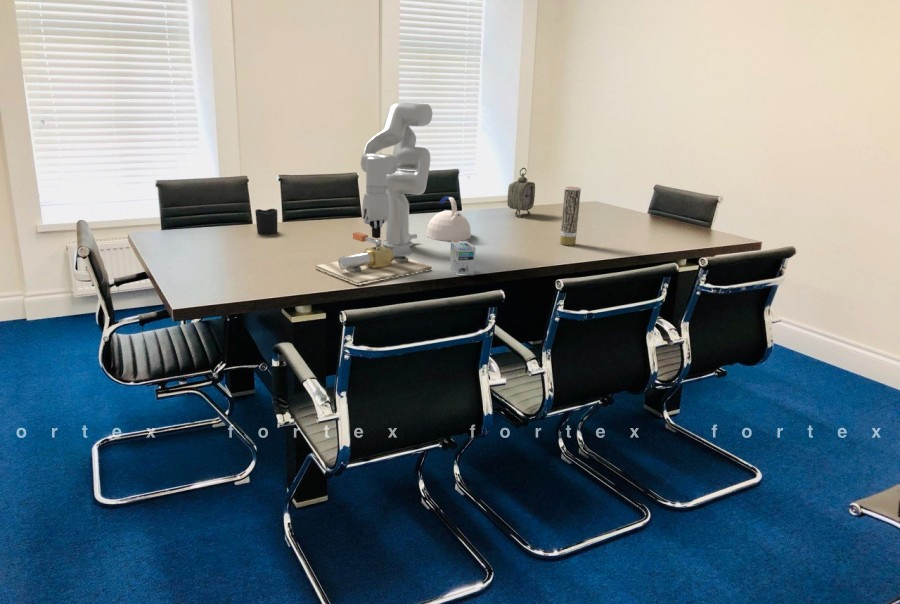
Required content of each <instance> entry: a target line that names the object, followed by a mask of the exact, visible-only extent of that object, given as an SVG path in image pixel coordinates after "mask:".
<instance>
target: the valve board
mask: <svg viewBox="0 0 900 604" xmlns="http://www.w3.org/2000/svg"><path fill="white" fill-rule="evenodd" d="M338 261H339V260H338ZM338 261H333V262H328V263H321V264H317V265H316V264H315V268H316V267H317V268H319V269H322V270H324V271H327V272H329V273H332V274H334V275H337V276H339V277H341V278H344V279H347V280H349V281H352V282H354V283H357V284H359V283H363V282H368V281H374V280H380V279H387V278H392V277H396V276H402V275H406V274H411V273H416V272H421V271H426V270H431V269H432V270H433V266H431V265H429V264H426V263H422V262H420V261H416V260H414V259H411V258H408V263H403V264H402V263H399V262H396V261H394V260H393V261H392V262H391V265H388V266H383V267H378V268H374V267H371V266H370V267H366V266H360V267H361V272H358V273H353V272H350V271H347V270H346V269H345V270H342V269H340V267H339V264H338ZM432 270H431V271H432ZM426 272H427V271H426ZM421 273H422V272H421Z"/></svg>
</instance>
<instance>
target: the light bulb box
mask: <svg viewBox="0 0 900 604" xmlns="http://www.w3.org/2000/svg"><path fill="white" fill-rule="evenodd" d="M475 265H476V246H474V245H473V244H471V243H470V241H468V240H462V241H450V263H449V269H450V270H451V271H452V272H454V271H455V272H456V273H457V274H471V275H470V276H474V275H475V269H476V268H475V267H476V266H475ZM455 272H454V273H455ZM456 273H455V274H456ZM457 274H456V275H457ZM473 274H474V275H473Z"/></svg>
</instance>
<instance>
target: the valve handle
mask: <svg viewBox="0 0 900 604" xmlns="http://www.w3.org/2000/svg"><path fill="white" fill-rule="evenodd" d="M352 239H353V240H355V241H356V240H357V241H359V242H369V243H371V244H373V245H374V247H376V246H382V240H381V239H376V238H373V237H369V235H368V234H366V233H362V232H358V231H357V232H353V233H352Z"/></svg>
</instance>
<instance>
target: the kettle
mask: <svg viewBox="0 0 900 604" xmlns="http://www.w3.org/2000/svg"><path fill="white" fill-rule="evenodd" d="M447 200H449V201H450V205H451V210H450V209H444V210H443V211H440V212H437V213H436V214H435V215H434V216H433V217H432V218H430V220H429V223H428V224H427V231H426V237H428V238H429V239H432V240H435V241H436V240H437V241H444V242H451V241H468V240H469V239H471V237H472V233H471V226H470V223H469V221H468V219H467V218H466V217H465V216H464V215H463V214H462V213H461V212H459V211H458V208H457V207H458V206H457V202H456V200H455V198H454V197H453V196H450V195H449V196H444V197H442V198H441V199H440V201H439V202H438V203H439V204H444V203H445V201H447Z"/></svg>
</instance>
